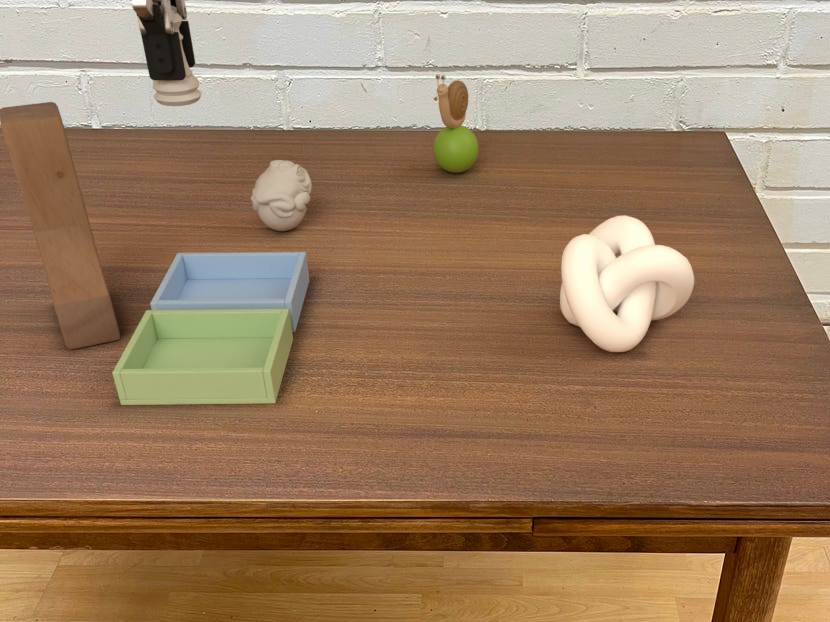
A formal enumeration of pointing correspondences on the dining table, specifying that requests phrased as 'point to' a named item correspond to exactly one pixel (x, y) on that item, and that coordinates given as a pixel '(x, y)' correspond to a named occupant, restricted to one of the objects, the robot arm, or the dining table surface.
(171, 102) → the rook chess piece
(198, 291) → the blue tray
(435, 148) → the snail figurine
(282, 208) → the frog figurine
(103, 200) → the dining table surface
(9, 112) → the wooden block
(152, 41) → the robot arm
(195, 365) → the green tray
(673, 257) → the white knot sculpture
